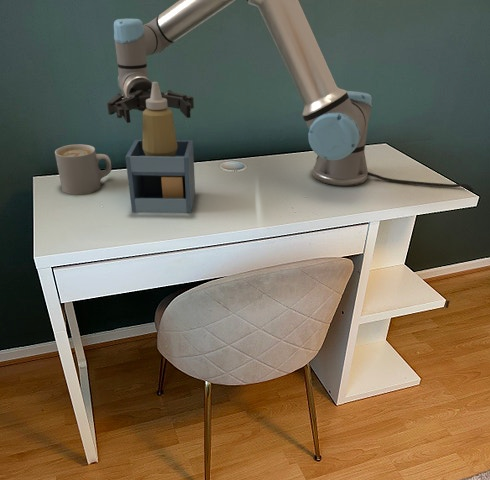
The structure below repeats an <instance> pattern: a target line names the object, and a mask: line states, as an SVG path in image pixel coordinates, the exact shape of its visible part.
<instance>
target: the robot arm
mask: <svg viewBox="0 0 490 480" xmlns="http://www.w3.org/2000/svg"><path fill="white" fill-rule="evenodd" d="M235 1H236V0H177V1H176V2H174V3H173V4H172V5H171V6H169V7H168V8H167V9H165V10H164V11H163V12H161V13H160V14H158V16H155V18H153V19H152V20H150V21H149V22H148V23H145V24H144V23H143V20H141V19H140V18H117V19H116V20H114V22H113V39H114V46H115V53H116V61H117V70H118V71H117V73H118V76H117V84H118V85H117V86H118V89H119V90H120V92H121V93H120V92H118V93H116V95H115V96H114V97H113V98H111V99H110V100H109V101H108V102H106V104H107V105H106V106H107V112H108V115H111V116H112V115H115V113H116V118H117V119H122V118H123V119H124V120H125V121H126V123H127V124H129V123H131V115H130V113H131V112H130V111H132V110H136V111H139V112H143V111H144V110H145V109H147V107H146V100H147V99H149V98H151V89H152V82H153V81H151V80H150V79H149V78H148V77H149V76H148V64H147V63H148V62H147V57H148V56H150V55H155V54H158V52H159V53H162V52H161V51H163V50H164V49H165V48H166V47H168V46H169V45H171V44H172V45H173V44H174V43H175V42H176V41H178V40H179V39H181V38H182V37H184V36H185V35H186V34H189V32H191V31H192V30H194V29H195V28H197V27H198V26H200V25H201V24H203V23H204V22H206V21H208V20H209V19H210V18H212V17H213V16H215V15H216V14H219V12H221V11H222V10H224V9H226V7H228V6H230V5H231V4H233V3H234V2H235ZM246 2H247V4H248V5H250V6H254V7H256V8H257V9H258V11H259V13H260V15H261V17H262V19H263V21H264V24H265V25H266V27H267V28H266V29H267V30H268V32H269V34H270V36H271V38H272V41H273V42H274V44H275V47H276V49H277V51H278V53H279V55H280V57H281V59H282V62H283V63H284V65H285V68H286V71H287V72H288V74H289V76H290V79H291V80H292V82H293V84H294V86H295V89H296V90H297V93H298V95H299V97H300V100H301V101H302V104H303V105H304V106H303V110H302V113H301V115H302V118H303V120H304V122H305V124H306V126H307V129H308V130H309V131H308V134H307V135H308V136H307V137H308V143H309V146H310V149H311V150H312V151H313V152H314V154H316V155H317V156H316V159H315V164H314V166H313V169H312V176H313V178H314V179H316V180H317V181H319V182H321V183H323V184H326V185H331V186H339V187H352V186H358V185H361V184H364V183H365V182H366V181H367V179H368V176H369V177H373V178H376V179H379V180H382V181H385V182H391V183H396V184H409V185H418V186H419V185H420V186H430V187H441V188H442V187H443V188H444V187H445V188H463V187H464V188H467V189H468V190H469V191H472V192H473V191H474V190H475V189H474V188H473V187H472V186H471V185H470V184H467V183H453V184H452V183H442V182H441V183H440V182H426V181H415V180H405V179H404V180H403V179H395V178H389V177H385V176H381V175H379V174H375V173H372V172H369V170H368V165H367V159H366V154H365V149H366V142H367V136H368V130H369V129H368V128H369V121H370V117H371V109H372V107H373V105H372V100H373V98H372V95H371V94H369V93H367V92H362V91H355V90H346V89H343V88H339V86H337V83H336V81H335V80H334V77H333V75H332V72H331V70H330V68H329V67H328V64H327V62H326V59H325V57H324V55H323V53H322V51H321V48H320V46H319V44H318V42H317V39H316V37H315V34H314V33H313V30H312V28H311V25H310V23H309V21H308V19H307V17H306V15H305V13H304V10H303V8H302V5H301V3H300V1H299V0H246ZM172 45H171V46H172ZM163 52H164V51H163ZM160 92H161V96H162V98H165V99H167V106H168V107H167V108H172V109H178V110H179V111H180V112H181V113H182V115H184V116H185V117H186V118H187V119H189V118H191V111H192V109H195V103H194V96H191V95H187V94H183V93H179V92H175V91H173V90H170V89H168V90H167V91H166V93H165V92H163V91H160ZM450 301H451V300H446V303H445V308H446V309H448V308H449V305H450Z"/></svg>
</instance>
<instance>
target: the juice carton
mask: <svg viewBox="0 0 490 480" xmlns="http://www.w3.org/2000/svg"><path fill="white" fill-rule="evenodd" d="M161 182H162V194H163V198H186V190H185V176H161Z"/></svg>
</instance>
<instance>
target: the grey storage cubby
mask: <svg viewBox="0 0 490 480" xmlns="http://www.w3.org/2000/svg"><path fill="white" fill-rule="evenodd" d="M176 140H177V146H178V148H177V151H176V155H175V157H160V156H146V155H145V153H144V151H143V139H134V141H133V143H132V145H131V146H130V148H129V150H128V152H127V153H126V155H125V165H126V173H127V182H128V189H129V198H130V207H131V213H141V214H142V213H146V214H147V213H151V214H153V213H154V214H192V211H193V206H194V201H195V197H196V181H195V180H196V178H195V158H194V157H195V156H194V140H193V139H176ZM161 176H185V190H186V198H163V194H162V182H161Z"/></svg>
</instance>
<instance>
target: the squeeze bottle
mask: <svg viewBox="0 0 490 480" xmlns="http://www.w3.org/2000/svg"><path fill="white" fill-rule="evenodd" d="M151 82H152V89H151V98H149V99H147V100H146V107H147V109H145V110H144V111H142V140H143V151H144V153H145V155H146V156H160V157H175V155H176V151H177V148H178V146H177V140H178V139H177V134H176V129H175V123H174V122H175V121H174V115H173V111H172V110H171V109H170V108H169V107H168V106H167V99H165V98H162V96H161V92H162V91H161V88H160V85H159V82H158V81H151Z"/></svg>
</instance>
